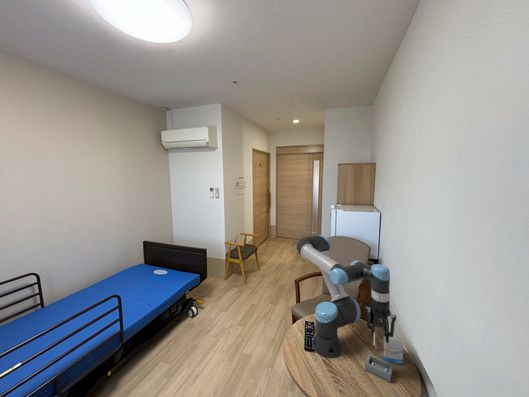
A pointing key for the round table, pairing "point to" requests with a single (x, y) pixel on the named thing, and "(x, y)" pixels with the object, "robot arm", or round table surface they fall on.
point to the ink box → (394, 350)
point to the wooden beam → (379, 337)
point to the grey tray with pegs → (379, 367)
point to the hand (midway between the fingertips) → (379, 345)
